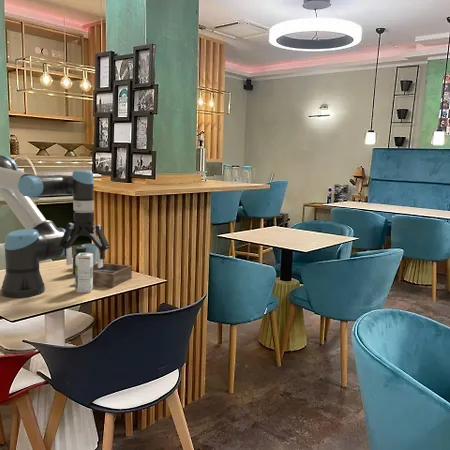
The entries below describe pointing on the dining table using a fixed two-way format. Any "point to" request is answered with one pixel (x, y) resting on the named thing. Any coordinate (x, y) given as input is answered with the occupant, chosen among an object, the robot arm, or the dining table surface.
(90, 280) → the syrup box
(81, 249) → the supplement bottle
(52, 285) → the dining table surface
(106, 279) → the socket crate
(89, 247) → the cup
